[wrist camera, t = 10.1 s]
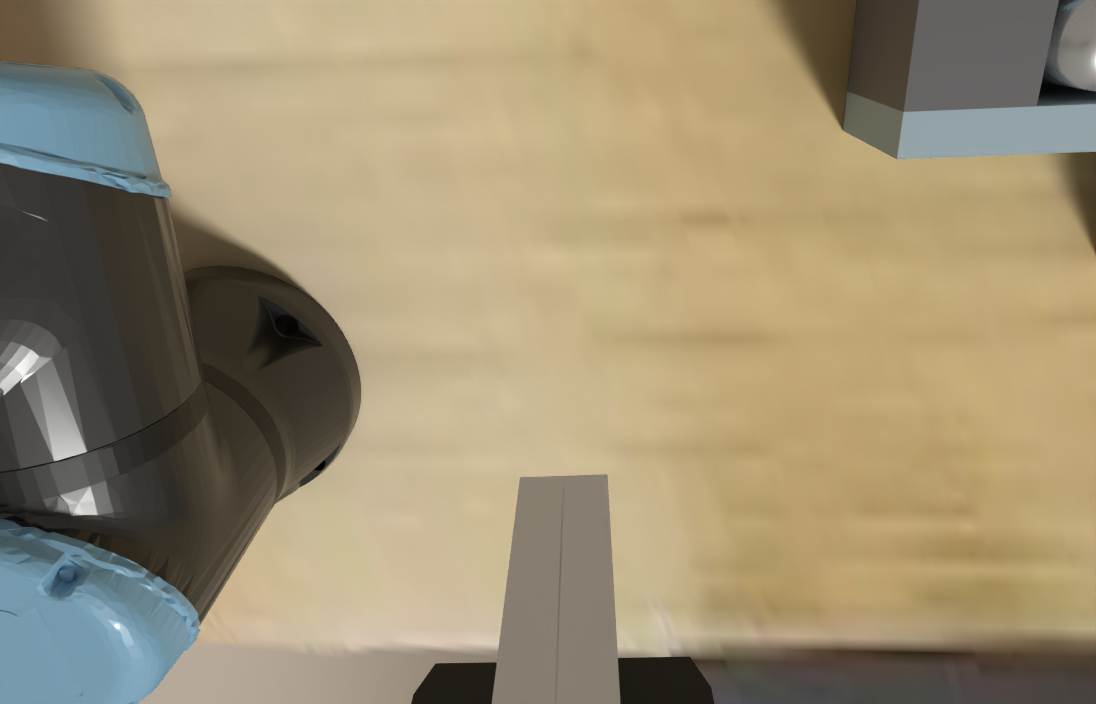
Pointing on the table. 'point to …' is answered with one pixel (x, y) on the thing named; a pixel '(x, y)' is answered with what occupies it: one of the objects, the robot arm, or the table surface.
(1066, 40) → the grey metal peg
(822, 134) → the table surface
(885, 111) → the socket block
